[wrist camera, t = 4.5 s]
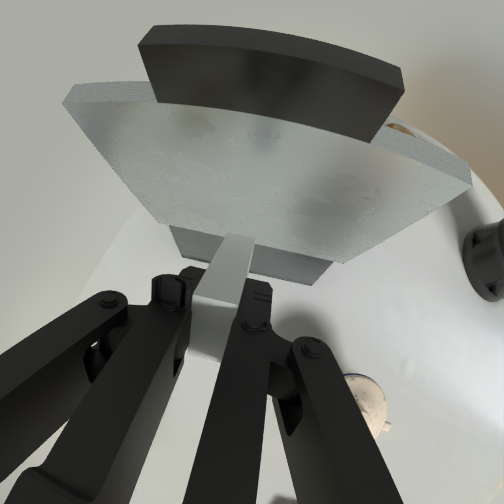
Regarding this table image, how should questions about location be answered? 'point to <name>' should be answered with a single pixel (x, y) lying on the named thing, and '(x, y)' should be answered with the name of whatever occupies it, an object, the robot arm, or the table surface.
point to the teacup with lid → (369, 402)
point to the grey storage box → (253, 257)
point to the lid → (267, 140)
